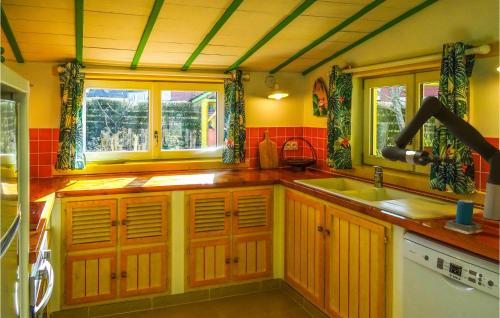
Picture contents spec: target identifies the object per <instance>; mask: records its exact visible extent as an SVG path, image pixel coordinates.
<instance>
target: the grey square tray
mask: <svg viewBox="0 0 500 318" xmlns="http://www.w3.org/2000/svg"><path fill="white" fill-rule="evenodd" d="M455 222H456V219H453V220H446V223H445V225H444V229H448V230H450V231H451V230H452V231H455V232H458V233H462V234H466V235H472V234H477V233H481V232H484V229H482V225H483V224H480V223H476V222H473V221H472V225H470V226H465V225H461V224H458V223H455Z"/></svg>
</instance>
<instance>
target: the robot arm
mask: <svg viewBox="0 0 500 318" xmlns="http://www.w3.org/2000/svg"><path fill="white" fill-rule="evenodd" d="M432 117H433V118H434V119H436V120H437V121H439V122H440V124H442V125H443V126H444V128H445V129H446V130H447V131H448V132H449V133H450V134H451V135H452V136H453V137H455V138H456V139H457V140H458V141H459V142H461V143H462V144H463V145H465V146H466V147H467V148H469V149H470V150H472V151H474V152H476V154H478V155H479V156H480V157H481V159H483V160H484V161H486V162H485V163H487V164H488V165H489V174H488V176H487V178H486V187H485V196H484V202H483V203H484V204H483V214H482V217H483V218H484V219H489V220H493V221H500V149H499V148H498V147H496V146H494V145H493V144H491V142H489V141H488V140H487V139H486V138H485V137H484V136H483V134H481V132H480V131H479V130H478V128H476V127H474V126H473V125H472V124H471V123H470V122H468V121H467V120H466V119H464V118H463V117H461V116H459V115H458V114H456V113H454V112H453V111H452V110H450V109H449V108H448V107H447V106H446V105H445V104H444V103H443V102H442V100H441V99H440V98H439V97H438V96H435V95H427V96H425V97H424V98H423V99H422V101H421V103H420V106H419V108H418V110H417V112H416V113H415V115H414V116H413V117H412V119H410V121H409V122H408V123H407V124H406V125H404V127H403V128H402V129H401V131H400V132H399V133H398V134H397V135H396V137H395V138H394V140H393V141H394V143H395V146H393V145H387V146H384V147H383V148H382V150H381V155H382V157H383V158H384V159H385V160H387V161H390V162H394V163H396V162H398V161H399V162H401V163H406V164H411V165H414V166H421V167H426V166H428V164H430V165H431V164H432V165H433V164H436V165H437V164H438V165H442V163H443V164H453V162H454V159H453V158H448V157H447V156H440V155H434V154H430V152H429V151H428V150H420V149H410V148H409V149H408V148H407V146H408V145H409V144H410V142H412V141H413V139H414V138H415V136H416V135H417V134H418V132H419V131H420V130H421V128H422V127H423V126H424V125H425V124H426V123H427V122H428V121H429V120H431V118H432Z"/></svg>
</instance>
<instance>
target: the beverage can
mask: <svg viewBox="0 0 500 318" xmlns="http://www.w3.org/2000/svg"><path fill="white" fill-rule="evenodd" d="M456 203H457V205H456V213H455V220H456V222H455V223H458V224H461V225H465V226H470V225H472V222H473V219H474V218H473V217H474V206H475V204H474V201H473V200H470V199H458V201H457V202H456Z"/></svg>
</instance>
